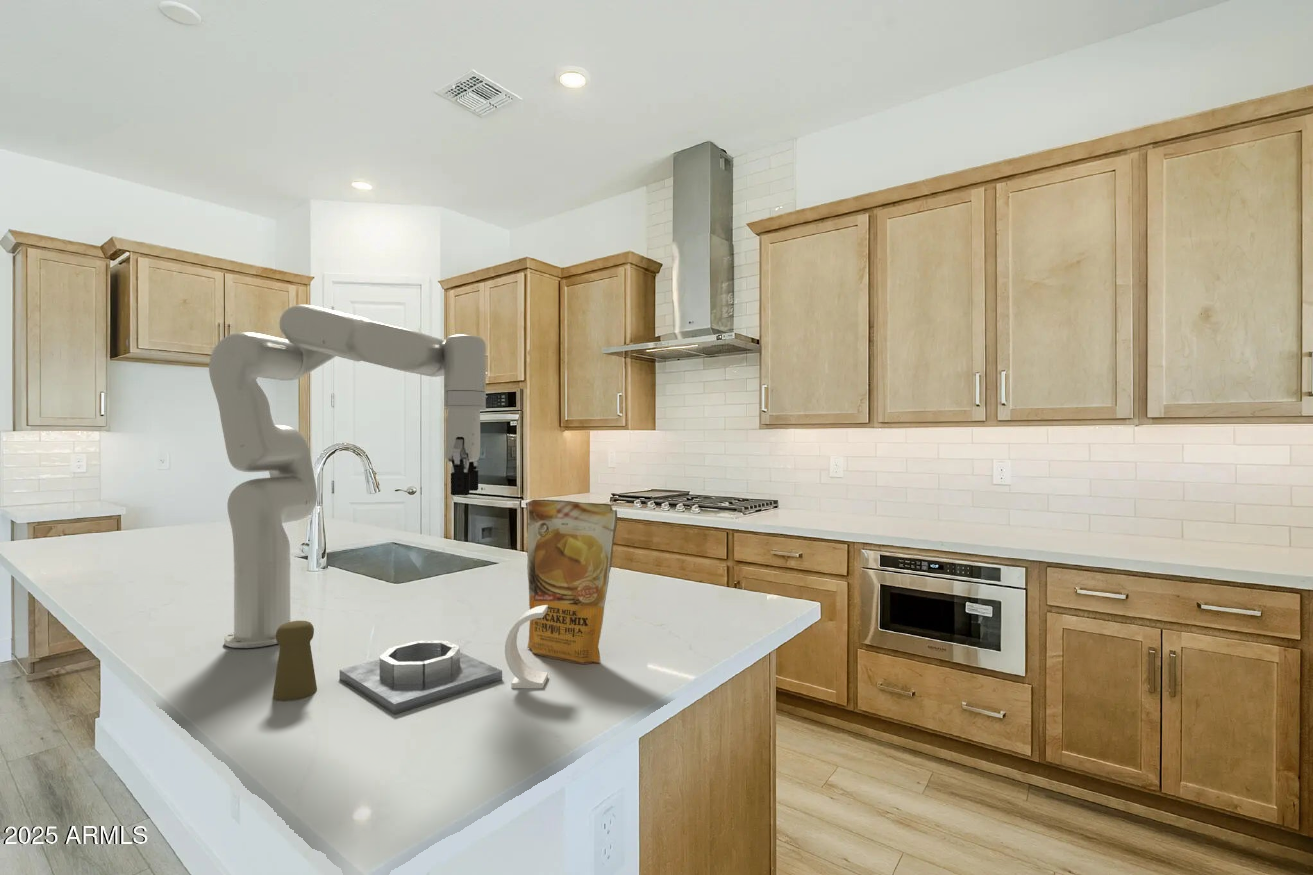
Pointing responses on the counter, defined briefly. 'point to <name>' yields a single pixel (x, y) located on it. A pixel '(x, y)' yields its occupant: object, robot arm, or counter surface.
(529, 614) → the headphone stand
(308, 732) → the counter surface
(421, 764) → the counter surface
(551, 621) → the pancake mix bag
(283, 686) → the cork
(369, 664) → the plate
